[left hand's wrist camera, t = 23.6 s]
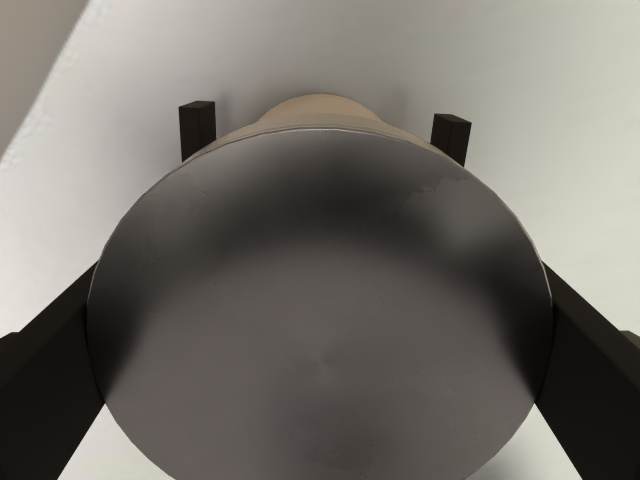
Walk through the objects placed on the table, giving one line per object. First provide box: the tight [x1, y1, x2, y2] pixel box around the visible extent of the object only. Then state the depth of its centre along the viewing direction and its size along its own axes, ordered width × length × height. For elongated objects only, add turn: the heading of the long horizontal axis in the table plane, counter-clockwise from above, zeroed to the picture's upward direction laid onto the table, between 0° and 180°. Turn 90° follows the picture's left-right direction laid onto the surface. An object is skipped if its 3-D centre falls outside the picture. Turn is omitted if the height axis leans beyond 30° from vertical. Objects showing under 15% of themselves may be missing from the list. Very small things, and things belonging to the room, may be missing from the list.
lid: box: [86, 113, 554, 480], centre depth 11 cm, size 10×10×2 cm
